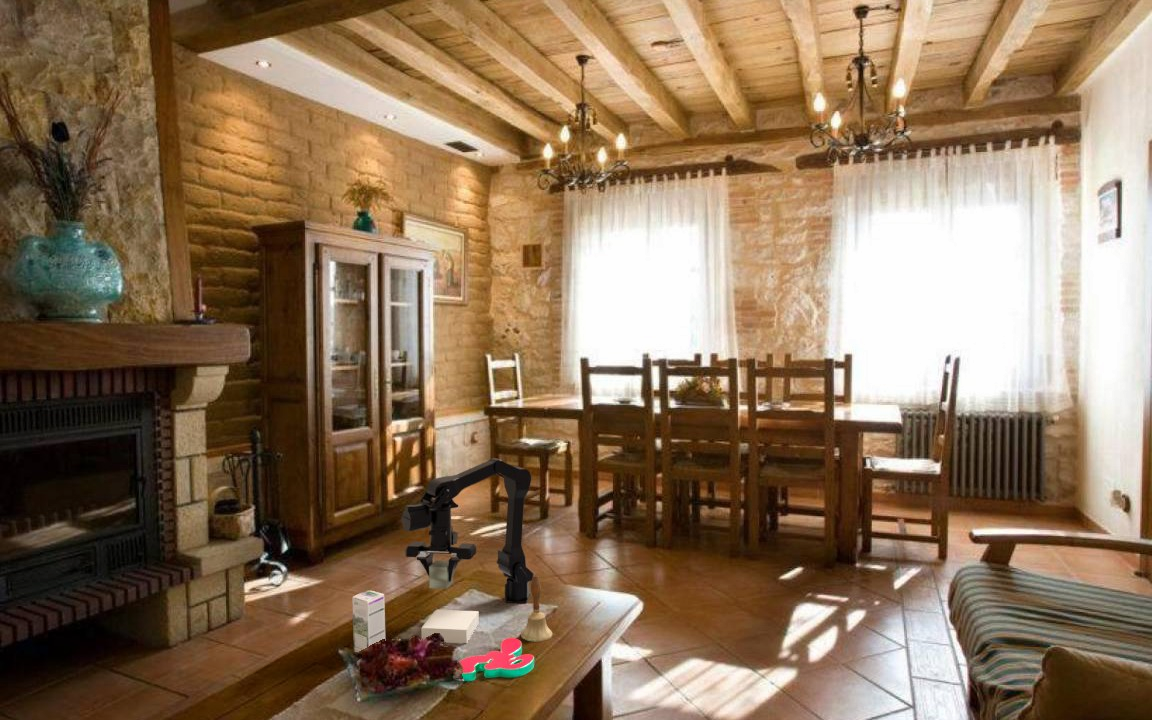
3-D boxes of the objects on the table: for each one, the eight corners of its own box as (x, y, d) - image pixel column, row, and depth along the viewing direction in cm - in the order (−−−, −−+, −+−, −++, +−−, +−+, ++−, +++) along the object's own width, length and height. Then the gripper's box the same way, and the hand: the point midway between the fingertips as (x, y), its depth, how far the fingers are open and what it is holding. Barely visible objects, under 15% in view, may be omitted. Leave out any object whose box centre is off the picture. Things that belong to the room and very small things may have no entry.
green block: (452, 582, 194) (452, 561, 194) (447, 589, 189) (446, 567, 189) (435, 581, 195) (435, 560, 195) (429, 588, 190) (429, 566, 190)
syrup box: (386, 649, 175) (385, 592, 174) (368, 658, 170) (367, 600, 169) (371, 644, 178) (370, 588, 177) (352, 653, 173) (351, 595, 172)
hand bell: (548, 643, 178) (547, 581, 177) (517, 640, 179) (516, 579, 179) (555, 629, 186) (555, 571, 185) (525, 627, 188) (525, 569, 187)
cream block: (478, 625, 190) (478, 611, 190) (466, 645, 178) (466, 629, 178) (436, 623, 191) (436, 609, 191) (421, 643, 179) (421, 627, 179)
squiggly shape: (516, 645, 178) (516, 636, 178) (542, 672, 163) (542, 662, 163) (439, 662, 169) (439, 652, 168) (460, 692, 154) (460, 682, 154)
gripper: (481, 518, 198) (482, 572, 199) (419, 516, 201) (419, 569, 202) (470, 529, 187) (470, 586, 188) (404, 527, 190) (404, 583, 190)
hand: (441, 580), depth 192 cm, fingers closed on green block, 5 cm apart
